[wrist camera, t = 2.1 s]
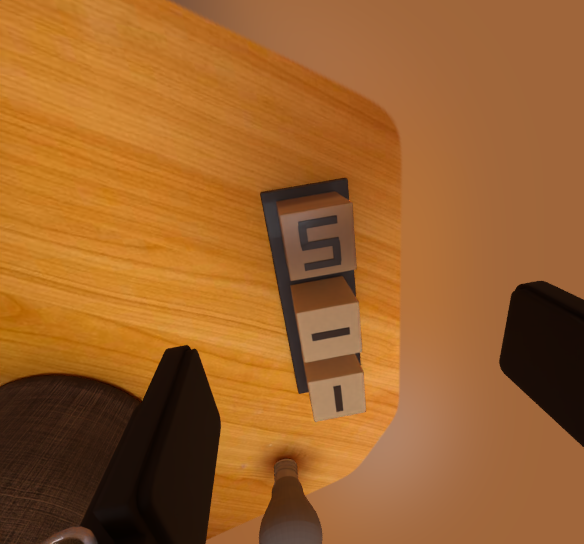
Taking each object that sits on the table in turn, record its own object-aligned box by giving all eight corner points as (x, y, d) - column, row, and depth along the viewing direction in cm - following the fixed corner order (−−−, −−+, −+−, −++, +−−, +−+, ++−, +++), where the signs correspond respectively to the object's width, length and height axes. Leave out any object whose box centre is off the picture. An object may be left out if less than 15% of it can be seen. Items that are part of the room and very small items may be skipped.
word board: (260, 192, 22) (260, 205, 17) (345, 177, 22) (368, 186, 17) (298, 389, 30) (305, 435, 25) (360, 377, 30) (378, 421, 26)
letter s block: (275, 201, 22) (279, 215, 18) (335, 190, 22) (353, 202, 18) (285, 257, 24) (290, 282, 19) (340, 247, 24) (357, 270, 20)
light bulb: (307, 440, 33) (324, 552, 24) (313, 473, 36) (331, 585, 27) (254, 450, 33) (252, 567, 24) (264, 482, 36) (265, 599, 27)
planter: (179, 486, 34) (121, 732, 20) (14, 503, 33) (-177, 784, 18) (149, 366, 27) (24, 616, 13) (-64, 380, 26) (-476, 683, 11)
